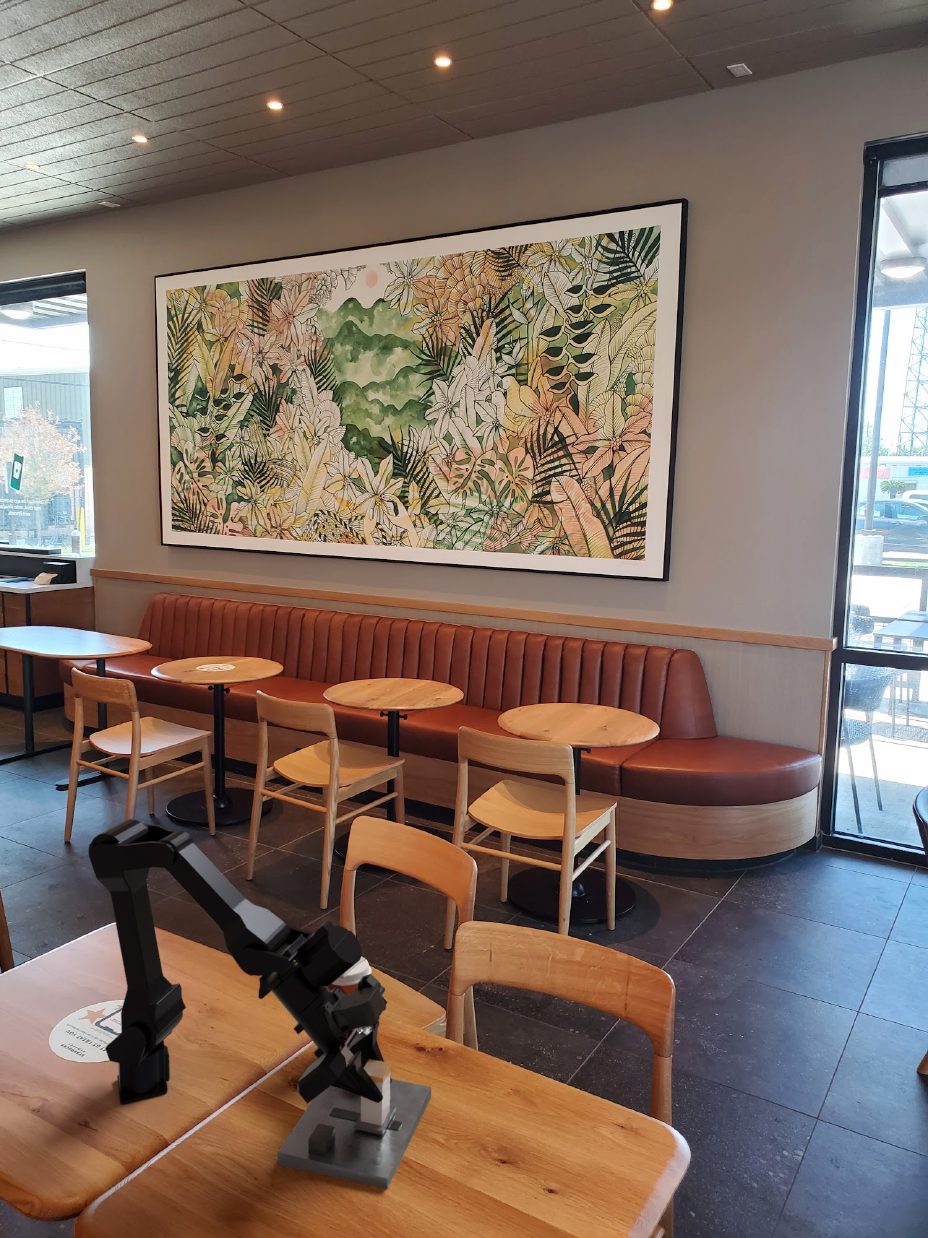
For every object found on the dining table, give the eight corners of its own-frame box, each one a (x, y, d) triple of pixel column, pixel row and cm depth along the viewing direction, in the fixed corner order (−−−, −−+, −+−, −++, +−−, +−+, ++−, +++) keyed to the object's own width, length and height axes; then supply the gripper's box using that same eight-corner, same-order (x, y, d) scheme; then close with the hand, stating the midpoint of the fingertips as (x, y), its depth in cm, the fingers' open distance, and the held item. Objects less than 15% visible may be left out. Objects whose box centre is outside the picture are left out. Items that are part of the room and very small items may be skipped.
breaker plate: (277, 1166, 113) (277, 1138, 113) (334, 1079, 130) (334, 1054, 130) (387, 1193, 109) (387, 1164, 109) (430, 1100, 126) (431, 1074, 126)
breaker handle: (354, 1129, 117) (355, 1077, 116) (368, 1104, 122) (368, 1054, 121) (382, 1135, 116) (383, 1083, 115) (395, 1110, 121) (396, 1060, 120)
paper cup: (363, 1067, 133) (362, 979, 131) (315, 1061, 134) (313, 974, 133) (378, 1037, 141) (377, 954, 139) (332, 1032, 142) (331, 949, 141)
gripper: (319, 1007, 108) (403, 1107, 107) (374, 936, 126) (446, 1022, 125) (262, 1054, 111) (342, 1152, 110) (323, 979, 129) (393, 1062, 128)
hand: (385, 1092), depth 118 cm, fingers closed on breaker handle, 3 cm apart
